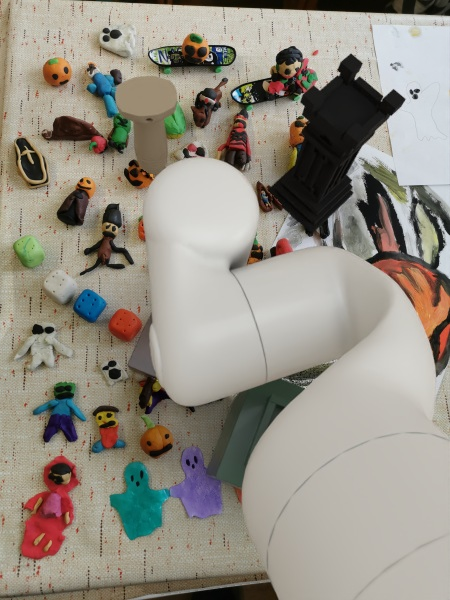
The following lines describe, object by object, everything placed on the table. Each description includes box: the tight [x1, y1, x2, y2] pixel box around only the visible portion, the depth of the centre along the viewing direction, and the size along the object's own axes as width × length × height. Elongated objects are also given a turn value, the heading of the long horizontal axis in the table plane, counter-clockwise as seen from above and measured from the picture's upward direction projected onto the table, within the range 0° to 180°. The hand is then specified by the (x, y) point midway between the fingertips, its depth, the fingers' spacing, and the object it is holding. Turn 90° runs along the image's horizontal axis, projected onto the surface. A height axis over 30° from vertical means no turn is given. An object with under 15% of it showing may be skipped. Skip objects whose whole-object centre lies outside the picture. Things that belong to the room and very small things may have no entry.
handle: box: [114, 75, 178, 178], centre depth 65 cm, size 5×6×15 cm
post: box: [204, 378, 305, 491], centre depth 53 cm, size 9×9×22 cm
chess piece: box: [267, 53, 407, 235], centre depth 64 cm, size 8×8×20 cm
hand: (192, 324), depth 63 cm, fingers closed on knob, 4 cm apart
